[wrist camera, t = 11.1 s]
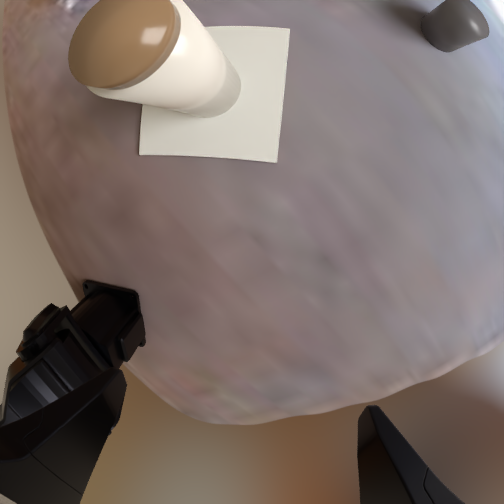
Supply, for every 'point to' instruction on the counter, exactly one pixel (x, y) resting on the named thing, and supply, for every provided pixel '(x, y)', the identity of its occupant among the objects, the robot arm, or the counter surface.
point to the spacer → (454, 25)
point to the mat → (240, 114)
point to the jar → (153, 57)
